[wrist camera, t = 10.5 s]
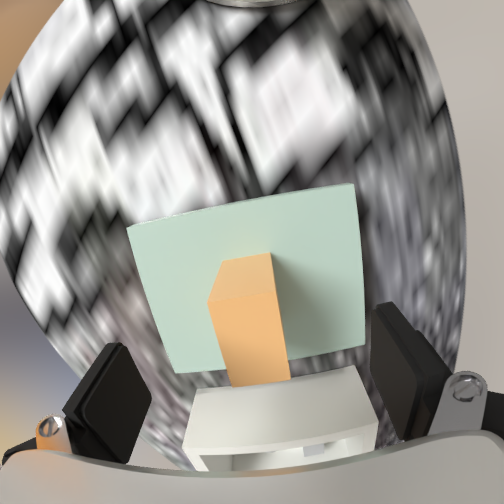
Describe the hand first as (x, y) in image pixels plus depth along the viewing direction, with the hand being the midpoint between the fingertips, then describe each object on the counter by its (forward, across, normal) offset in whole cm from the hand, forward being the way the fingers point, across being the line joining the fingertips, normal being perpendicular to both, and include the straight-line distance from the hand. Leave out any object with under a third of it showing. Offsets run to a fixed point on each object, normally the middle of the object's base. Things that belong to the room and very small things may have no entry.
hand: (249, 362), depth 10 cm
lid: (+11, 0, +2) cm, 11 cm away
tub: (+10, 0, +16) cm, 19 cm away
